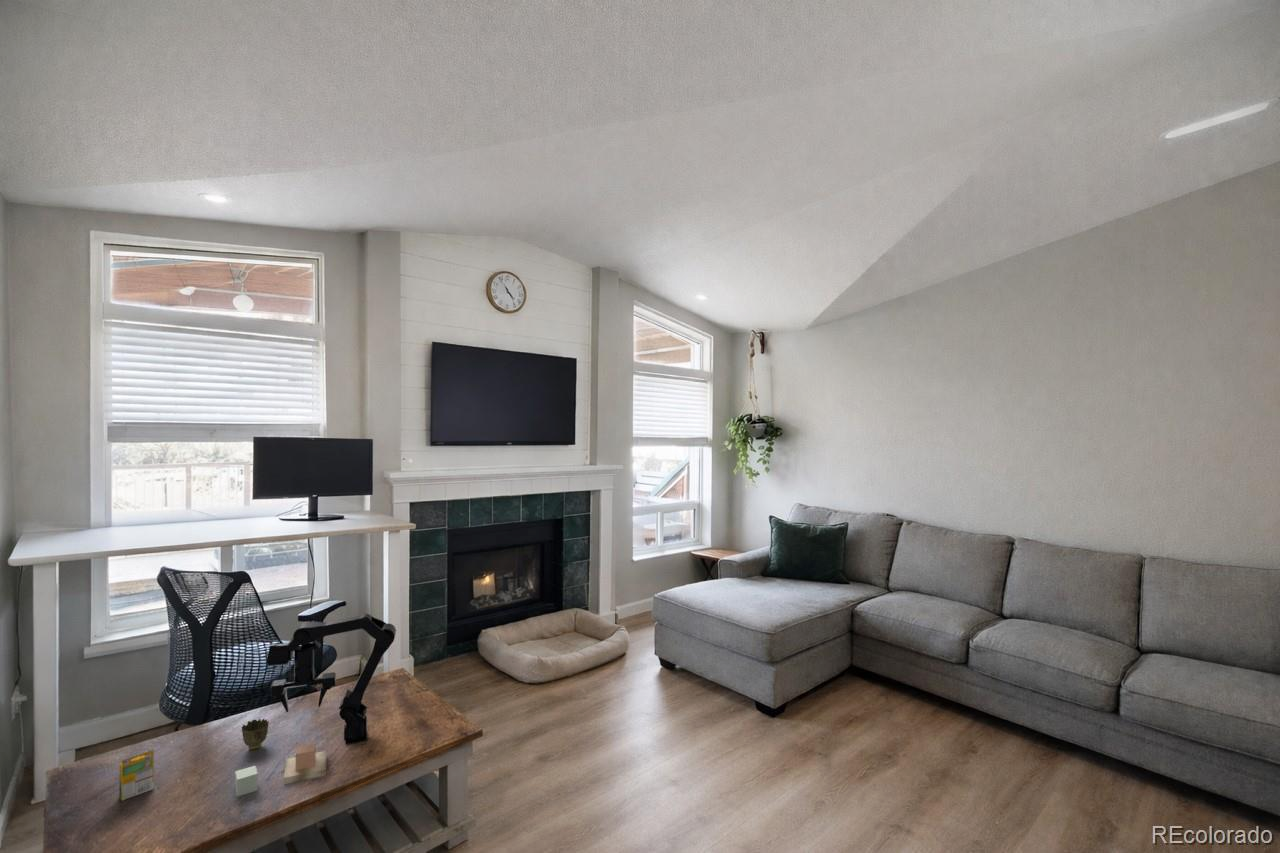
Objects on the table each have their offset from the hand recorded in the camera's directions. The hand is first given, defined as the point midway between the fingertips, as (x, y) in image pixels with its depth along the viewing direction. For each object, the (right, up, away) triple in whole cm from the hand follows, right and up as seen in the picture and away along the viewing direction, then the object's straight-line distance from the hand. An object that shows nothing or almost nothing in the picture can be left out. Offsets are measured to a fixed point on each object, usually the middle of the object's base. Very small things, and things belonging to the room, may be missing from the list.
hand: (303, 709), depth 198 cm
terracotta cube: (+8, -10, -14) cm, 19 cm away
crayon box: (-33, -12, -26) cm, 44 cm away
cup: (-15, -12, -2) cm, 19 cm away
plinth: (+8, -13, -14) cm, 20 cm away
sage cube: (-4, -12, -24) cm, 27 cm away
